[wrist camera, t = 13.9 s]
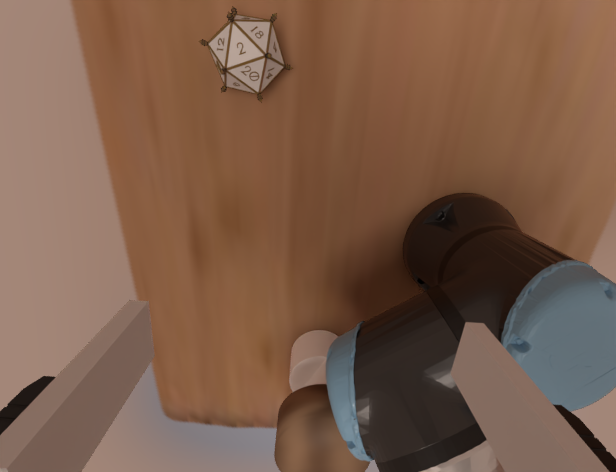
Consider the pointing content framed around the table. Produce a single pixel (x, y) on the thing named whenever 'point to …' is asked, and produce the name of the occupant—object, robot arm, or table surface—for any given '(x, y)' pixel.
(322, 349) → the white stepped block
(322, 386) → the walnut lid
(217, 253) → the table surface
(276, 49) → the game die
